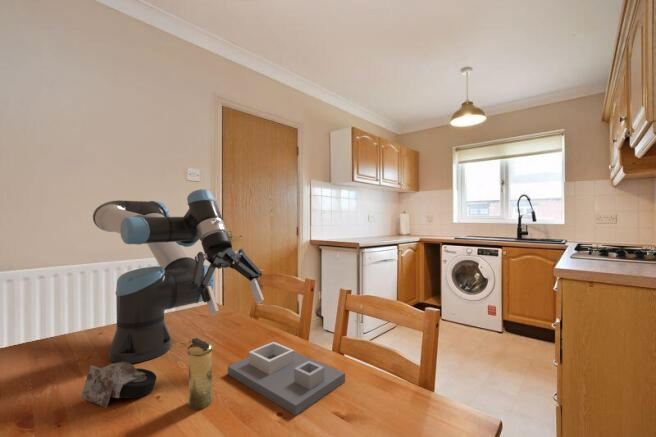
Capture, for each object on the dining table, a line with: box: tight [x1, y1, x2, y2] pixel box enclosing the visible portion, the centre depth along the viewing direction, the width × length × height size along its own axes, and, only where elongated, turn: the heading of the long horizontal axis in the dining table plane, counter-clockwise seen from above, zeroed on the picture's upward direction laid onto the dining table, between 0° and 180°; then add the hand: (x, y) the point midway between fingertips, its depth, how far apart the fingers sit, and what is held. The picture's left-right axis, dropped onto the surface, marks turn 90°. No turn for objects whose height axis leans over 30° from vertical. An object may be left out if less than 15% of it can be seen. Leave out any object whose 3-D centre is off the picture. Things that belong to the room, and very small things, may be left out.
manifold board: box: [227, 341, 346, 416], centre depth 73 cm, size 24×16×5 cm, turn 50°
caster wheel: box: [80, 362, 157, 408], centre depth 67 cm, size 7×11×10 cm
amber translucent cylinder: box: [187, 337, 214, 411], centre depth 63 cm, size 5×5×13 cm
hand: (239, 307), depth 79 cm, fingers open, 13 cm apart
